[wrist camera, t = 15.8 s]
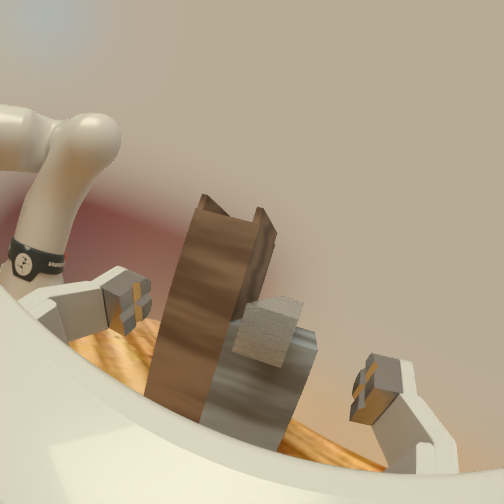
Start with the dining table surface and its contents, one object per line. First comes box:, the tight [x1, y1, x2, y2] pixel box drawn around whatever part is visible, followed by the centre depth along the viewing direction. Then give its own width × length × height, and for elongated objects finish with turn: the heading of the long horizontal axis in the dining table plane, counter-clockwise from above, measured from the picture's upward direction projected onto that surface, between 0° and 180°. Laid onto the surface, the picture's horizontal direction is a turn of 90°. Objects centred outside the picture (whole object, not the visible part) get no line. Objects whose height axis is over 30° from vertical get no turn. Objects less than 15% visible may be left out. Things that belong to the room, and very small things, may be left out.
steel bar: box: [232, 296, 303, 368], centre depth 26 cm, size 22×3×3 cm, turn 168°
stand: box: [144, 194, 318, 452], centre depth 29 cm, size 11×14×28 cm
